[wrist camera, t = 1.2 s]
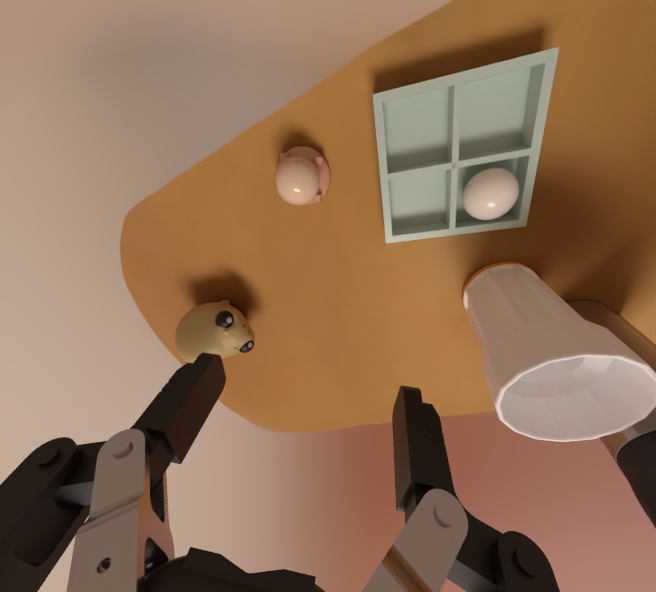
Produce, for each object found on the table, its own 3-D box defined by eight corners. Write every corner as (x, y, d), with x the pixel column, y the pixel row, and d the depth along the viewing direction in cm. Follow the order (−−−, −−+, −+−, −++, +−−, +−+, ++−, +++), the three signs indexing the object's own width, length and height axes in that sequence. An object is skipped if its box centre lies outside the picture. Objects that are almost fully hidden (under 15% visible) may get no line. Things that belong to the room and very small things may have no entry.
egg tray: (541, 54, 24) (559, 46, 21) (514, 217, 31) (526, 226, 29) (373, 96, 27) (372, 94, 25) (385, 234, 35) (386, 243, 32)
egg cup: (332, 148, 31) (329, 150, 29) (328, 206, 34) (326, 209, 33) (277, 143, 31) (272, 144, 30) (279, 200, 35) (275, 203, 34)
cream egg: (516, 166, 28) (539, 175, 24) (496, 214, 31) (514, 229, 27) (466, 162, 29) (480, 169, 25) (451, 209, 32) (461, 223, 27)
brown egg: (324, 155, 31) (315, 161, 26) (322, 201, 33) (314, 212, 29) (281, 151, 31) (266, 156, 27) (283, 196, 34) (269, 207, 30)
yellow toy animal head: (276, 327, 47) (251, 375, 38) (222, 340, 51) (189, 387, 42) (246, 280, 43) (210, 322, 34) (189, 298, 47) (145, 341, 38)
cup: (499, 236, 33) (591, 329, 18) (569, 281, 34) (703, 399, 20) (435, 300, 39) (466, 407, 25) (497, 336, 41) (559, 456, 26)
